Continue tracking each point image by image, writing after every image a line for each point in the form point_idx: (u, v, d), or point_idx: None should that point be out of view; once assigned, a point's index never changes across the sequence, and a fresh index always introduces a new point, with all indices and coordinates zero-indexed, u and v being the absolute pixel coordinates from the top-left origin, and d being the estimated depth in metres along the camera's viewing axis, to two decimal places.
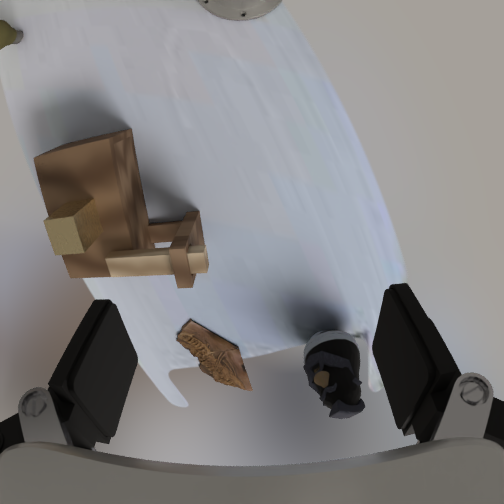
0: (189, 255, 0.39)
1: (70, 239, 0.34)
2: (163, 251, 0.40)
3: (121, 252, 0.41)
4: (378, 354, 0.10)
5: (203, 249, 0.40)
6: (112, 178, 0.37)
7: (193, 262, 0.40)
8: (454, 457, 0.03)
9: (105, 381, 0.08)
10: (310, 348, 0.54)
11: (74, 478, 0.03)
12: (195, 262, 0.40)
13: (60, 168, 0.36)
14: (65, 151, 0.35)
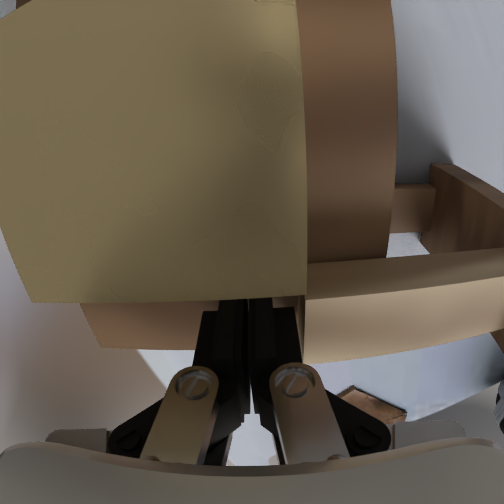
0: None
1: (180, 167, 0.04)
2: (502, 262, 0.10)
3: (357, 268, 0.10)
4: None
5: None
6: None
7: None
8: (454, 457, 0.03)
9: (246, 355, 0.09)
10: None
11: (74, 478, 0.03)
12: None
13: None
14: None
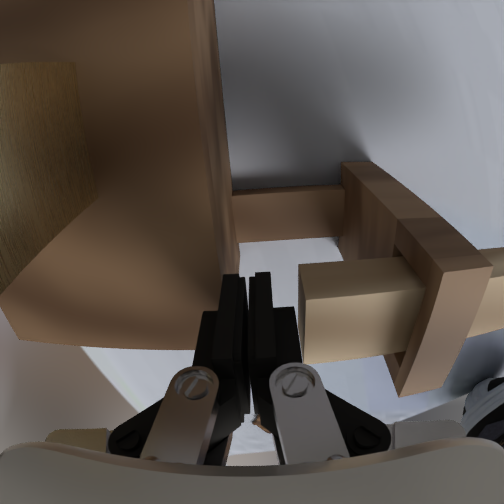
0: None
1: None
2: (502, 262, 0.10)
3: (358, 268, 0.10)
4: None
5: None
6: None
7: None
8: (454, 457, 0.03)
9: (246, 354, 0.09)
10: (485, 414, 0.24)
11: (74, 478, 0.03)
12: None
13: None
14: None
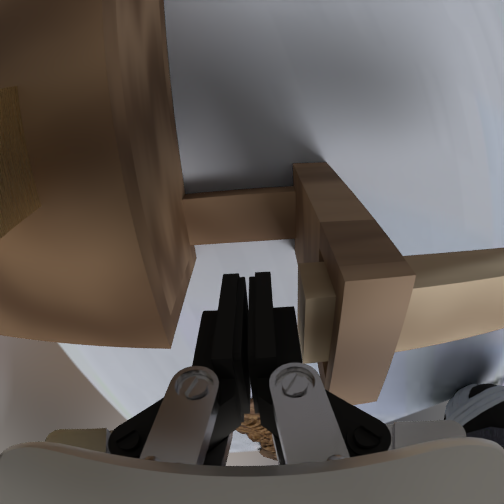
0: None
1: None
2: (501, 262, 0.10)
3: None
4: None
5: None
6: None
7: None
8: (454, 457, 0.03)
9: (246, 354, 0.09)
10: (465, 421, 0.24)
11: (74, 478, 0.03)
12: None
13: None
14: None
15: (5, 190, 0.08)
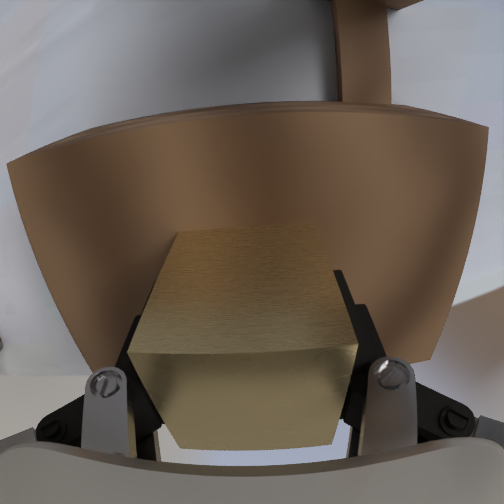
0: None
1: (265, 393, 0.07)
2: None
3: None
4: None
5: None
6: (106, 148, 0.10)
7: None
8: (454, 457, 0.03)
9: None
10: None
11: (74, 478, 0.03)
12: None
13: (101, 320, 0.14)
14: (57, 297, 0.13)
15: (281, 248, 0.10)
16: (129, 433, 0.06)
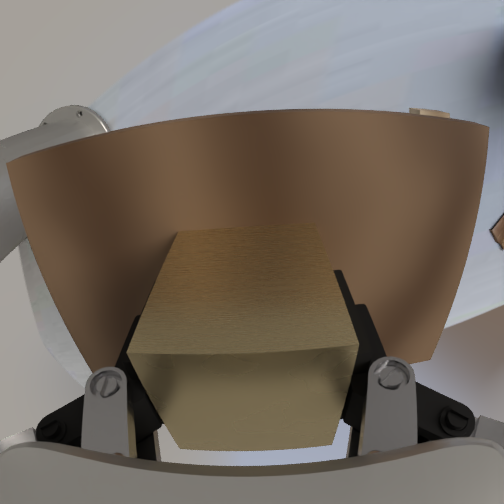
0: None
1: (265, 393, 0.07)
2: None
3: None
4: None
5: (415, 110, 0.21)
6: (106, 147, 0.10)
7: None
8: (454, 457, 0.03)
9: None
10: None
11: (74, 478, 0.03)
12: None
13: (100, 320, 0.14)
14: (56, 297, 0.13)
15: (281, 248, 0.10)
16: (129, 433, 0.06)
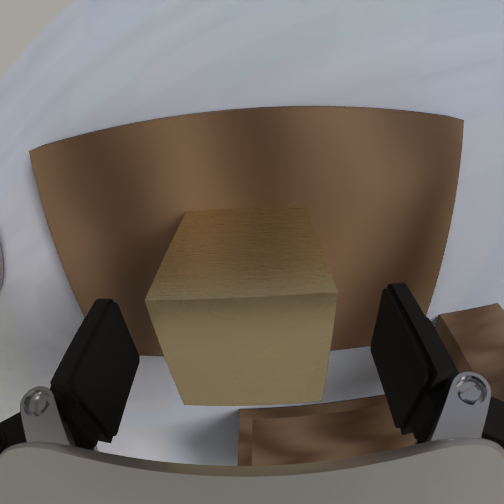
0: None
1: (260, 339, 0.09)
2: None
3: None
4: (376, 353, 0.10)
5: None
6: (124, 138, 0.12)
7: None
8: (454, 457, 0.03)
9: (107, 380, 0.08)
10: None
11: (74, 478, 0.03)
12: None
13: (111, 296, 0.16)
14: (71, 275, 0.15)
15: (275, 223, 0.11)
16: (69, 440, 0.05)
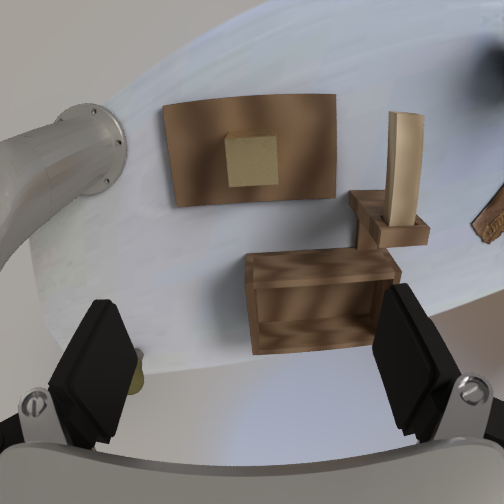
0: (398, 132, 0.25)
1: (256, 152, 0.30)
2: (391, 167, 0.28)
3: None
4: (378, 354, 0.10)
5: (393, 113, 0.25)
6: (207, 103, 0.33)
7: (409, 130, 0.25)
8: (454, 457, 0.03)
9: (105, 381, 0.08)
10: None
11: (74, 478, 0.03)
12: (409, 127, 0.25)
13: (191, 170, 0.37)
14: (172, 161, 0.36)
15: (261, 130, 0.33)
16: (67, 441, 0.05)
